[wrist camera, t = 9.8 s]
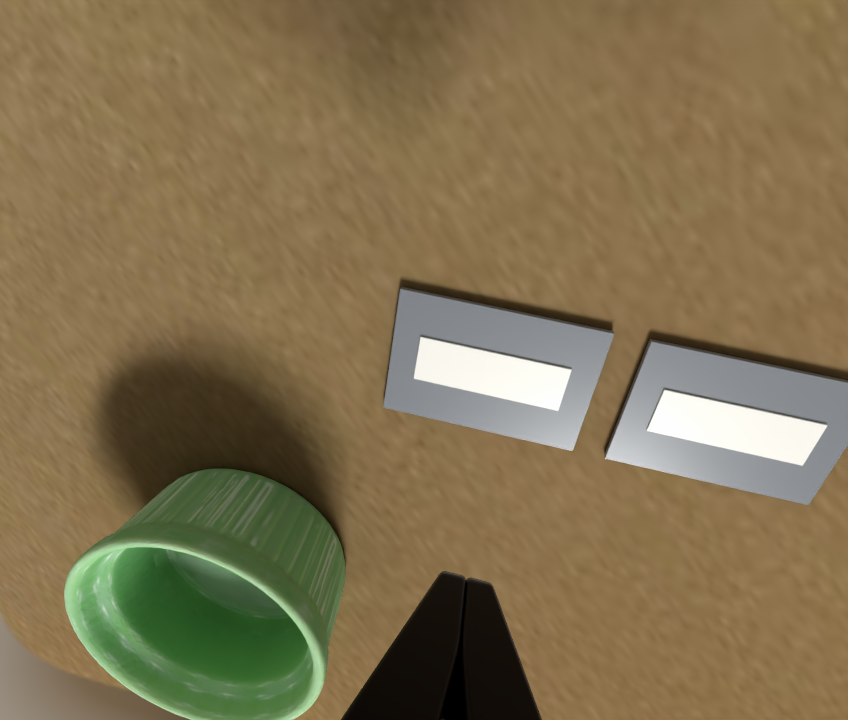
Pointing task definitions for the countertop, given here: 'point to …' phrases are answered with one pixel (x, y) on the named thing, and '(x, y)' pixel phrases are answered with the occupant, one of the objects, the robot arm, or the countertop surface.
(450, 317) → the label tile
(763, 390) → the label tile
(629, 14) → the countertop surface
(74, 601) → the ramekin
